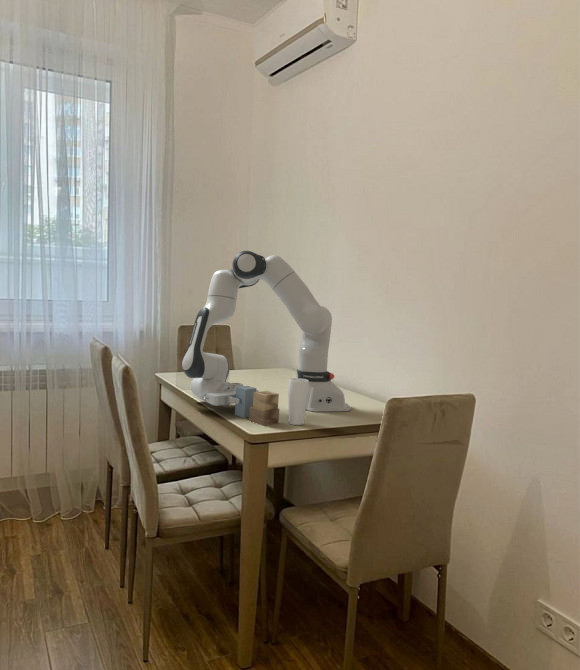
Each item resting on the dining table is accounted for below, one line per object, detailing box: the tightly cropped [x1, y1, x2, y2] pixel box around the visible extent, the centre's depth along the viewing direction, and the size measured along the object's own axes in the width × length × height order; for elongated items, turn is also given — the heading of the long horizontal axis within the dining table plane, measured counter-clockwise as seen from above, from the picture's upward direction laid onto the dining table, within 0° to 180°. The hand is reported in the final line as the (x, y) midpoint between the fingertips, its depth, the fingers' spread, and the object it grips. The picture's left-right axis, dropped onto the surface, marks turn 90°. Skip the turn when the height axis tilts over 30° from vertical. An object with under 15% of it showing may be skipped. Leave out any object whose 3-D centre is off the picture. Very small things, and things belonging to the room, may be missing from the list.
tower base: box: [248, 407, 280, 426], centre depth 195 cm, size 7×7×5 cm
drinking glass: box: [287, 377, 309, 426], centre depth 195 cm, size 7×7×15 cm
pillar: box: [234, 385, 257, 419], centre depth 202 cm, size 5×5×10 cm
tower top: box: [253, 390, 280, 410], centre depth 195 cm, size 6×6×5 cm
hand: (247, 400), depth 201 cm, fingers closed on pillar, 5 cm apart
